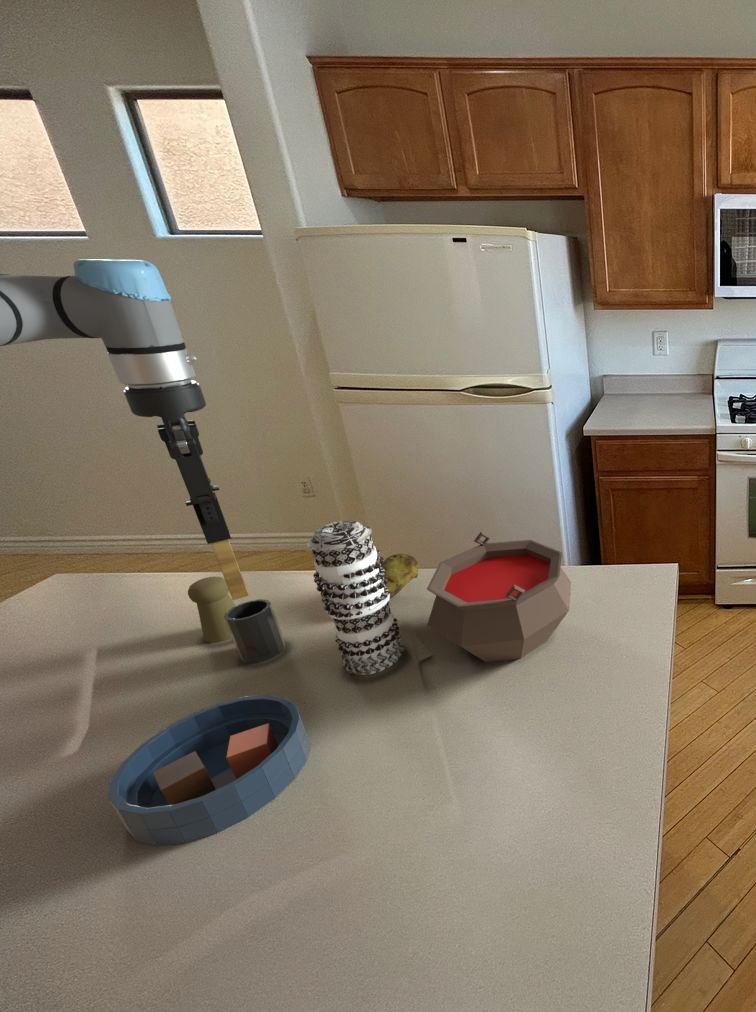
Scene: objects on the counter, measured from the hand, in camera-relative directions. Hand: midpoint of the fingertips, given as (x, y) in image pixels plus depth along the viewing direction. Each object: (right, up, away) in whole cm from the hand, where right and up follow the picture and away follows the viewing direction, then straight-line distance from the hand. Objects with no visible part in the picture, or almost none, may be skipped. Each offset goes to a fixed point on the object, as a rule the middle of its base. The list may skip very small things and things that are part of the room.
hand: (218, 537), depth 84 cm
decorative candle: (+20, -22, +7) cm, 30 cm away
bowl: (+14, -30, -14) cm, 36 cm away
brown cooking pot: (+39, -19, +14) cm, 45 cm away
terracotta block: (+16, -29, -12) cm, 35 cm away
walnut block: (+11, -30, -16) cm, 36 cm away
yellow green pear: (+12, -14, +24) cm, 30 cm away
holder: (0, -20, +9) cm, 22 cm away
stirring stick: (0, -10, +4) cm, 10 cm away
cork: (-11, -19, +13) cm, 25 cm away
